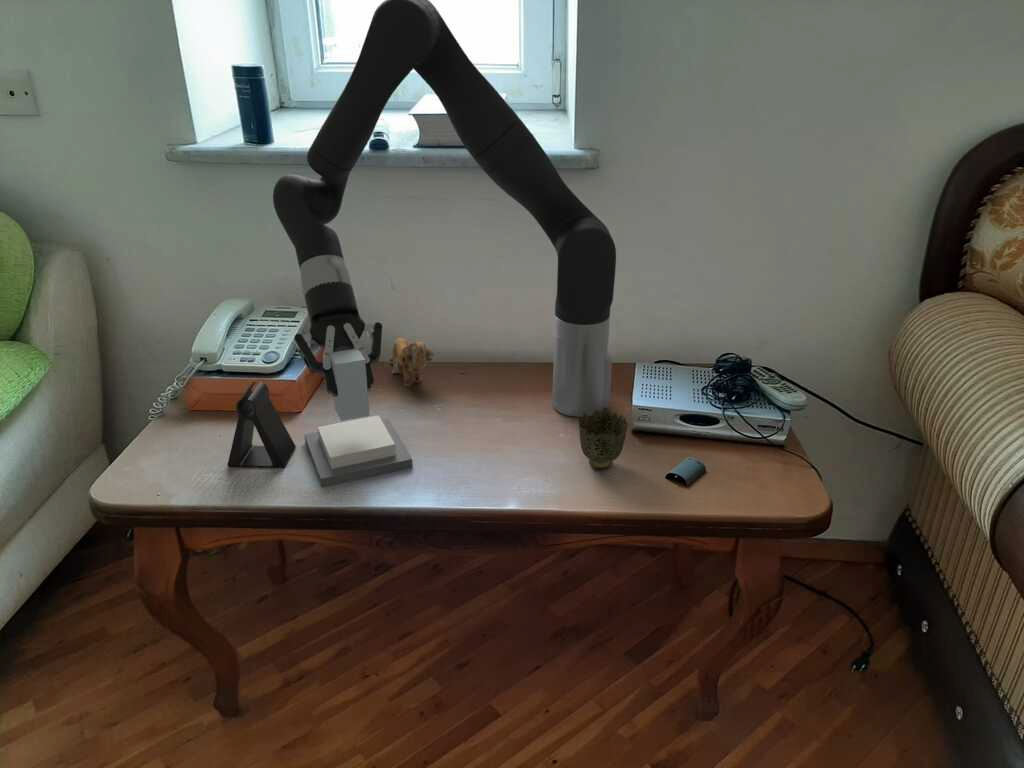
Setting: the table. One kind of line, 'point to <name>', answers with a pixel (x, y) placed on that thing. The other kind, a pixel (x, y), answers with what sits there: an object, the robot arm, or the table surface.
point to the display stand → (356, 450)
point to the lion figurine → (410, 358)
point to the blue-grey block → (350, 384)
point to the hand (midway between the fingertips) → (352, 391)
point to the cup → (602, 437)
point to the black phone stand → (259, 432)
